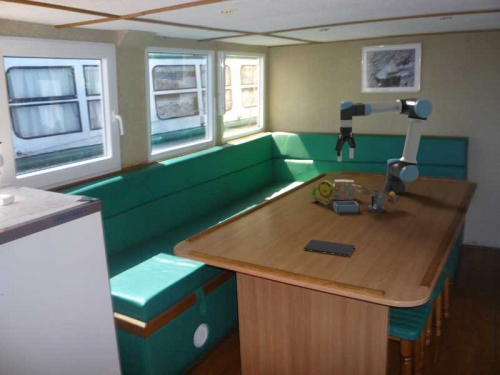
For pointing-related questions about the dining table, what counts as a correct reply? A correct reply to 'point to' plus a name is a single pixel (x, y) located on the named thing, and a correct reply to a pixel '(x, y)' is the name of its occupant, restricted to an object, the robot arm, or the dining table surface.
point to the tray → (346, 207)
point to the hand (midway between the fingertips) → (345, 159)
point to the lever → (374, 193)
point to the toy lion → (323, 192)
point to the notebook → (329, 247)
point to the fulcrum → (377, 203)
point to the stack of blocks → (343, 190)
